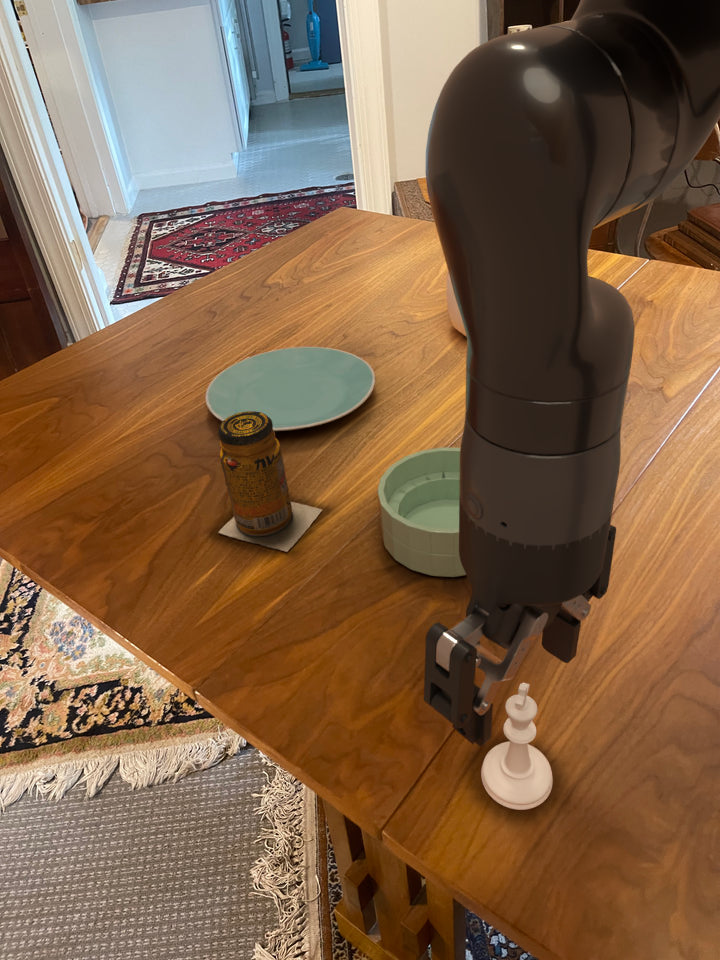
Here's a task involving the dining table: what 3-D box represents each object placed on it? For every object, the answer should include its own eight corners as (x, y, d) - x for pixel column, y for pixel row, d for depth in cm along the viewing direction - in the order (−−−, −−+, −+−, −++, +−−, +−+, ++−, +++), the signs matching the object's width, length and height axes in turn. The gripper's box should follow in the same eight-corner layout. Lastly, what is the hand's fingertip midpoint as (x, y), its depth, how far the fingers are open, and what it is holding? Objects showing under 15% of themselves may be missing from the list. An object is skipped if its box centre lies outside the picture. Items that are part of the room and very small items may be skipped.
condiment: (256, 493, 81) (235, 400, 74) (322, 510, 78) (308, 414, 71) (218, 534, 76) (192, 438, 69) (287, 554, 73) (267, 455, 66)
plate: (273, 351, 109) (270, 334, 107) (406, 378, 99) (405, 359, 98) (174, 426, 94) (168, 407, 93) (318, 466, 84) (315, 445, 83)
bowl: (533, 511, 75) (537, 463, 71) (489, 597, 66) (490, 547, 62) (415, 482, 80) (413, 436, 77) (359, 559, 71) (353, 511, 68)
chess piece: (471, 794, 51) (472, 705, 45) (493, 736, 54) (496, 647, 48) (542, 821, 49) (552, 732, 43) (560, 759, 52) (571, 669, 47)
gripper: (503, 605, 31) (491, 808, 40) (680, 456, 38) (633, 660, 48) (380, 525, 35) (395, 725, 45) (557, 406, 42) (538, 601, 52)
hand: (517, 691), depth 46 cm, fingers open, 8 cm apart
